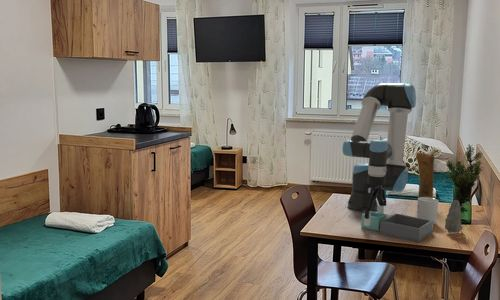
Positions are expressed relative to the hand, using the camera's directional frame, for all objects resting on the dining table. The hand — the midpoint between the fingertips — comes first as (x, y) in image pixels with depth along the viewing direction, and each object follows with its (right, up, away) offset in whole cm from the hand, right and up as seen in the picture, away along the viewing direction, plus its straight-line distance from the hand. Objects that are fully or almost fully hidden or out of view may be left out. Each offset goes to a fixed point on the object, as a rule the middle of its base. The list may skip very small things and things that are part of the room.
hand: (373, 222), depth 211 cm
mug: (+27, -2, +12) cm, 30 cm away
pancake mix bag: (+38, +2, +43) cm, 58 cm away
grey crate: (+12, -4, -6) cm, 14 cm away
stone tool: (+33, -4, -4) cm, 34 cm away
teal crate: (0, -2, +1) cm, 2 cm away
